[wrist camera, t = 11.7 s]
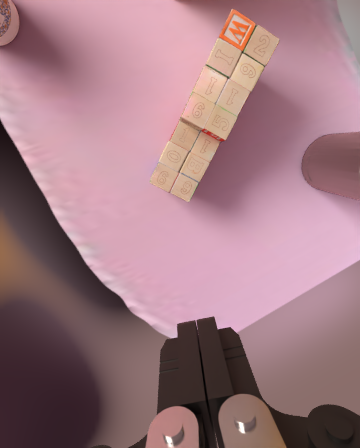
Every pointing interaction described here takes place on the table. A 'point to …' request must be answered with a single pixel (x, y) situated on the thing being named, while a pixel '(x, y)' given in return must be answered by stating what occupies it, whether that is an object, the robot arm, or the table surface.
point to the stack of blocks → (214, 104)
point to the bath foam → (8, 21)
